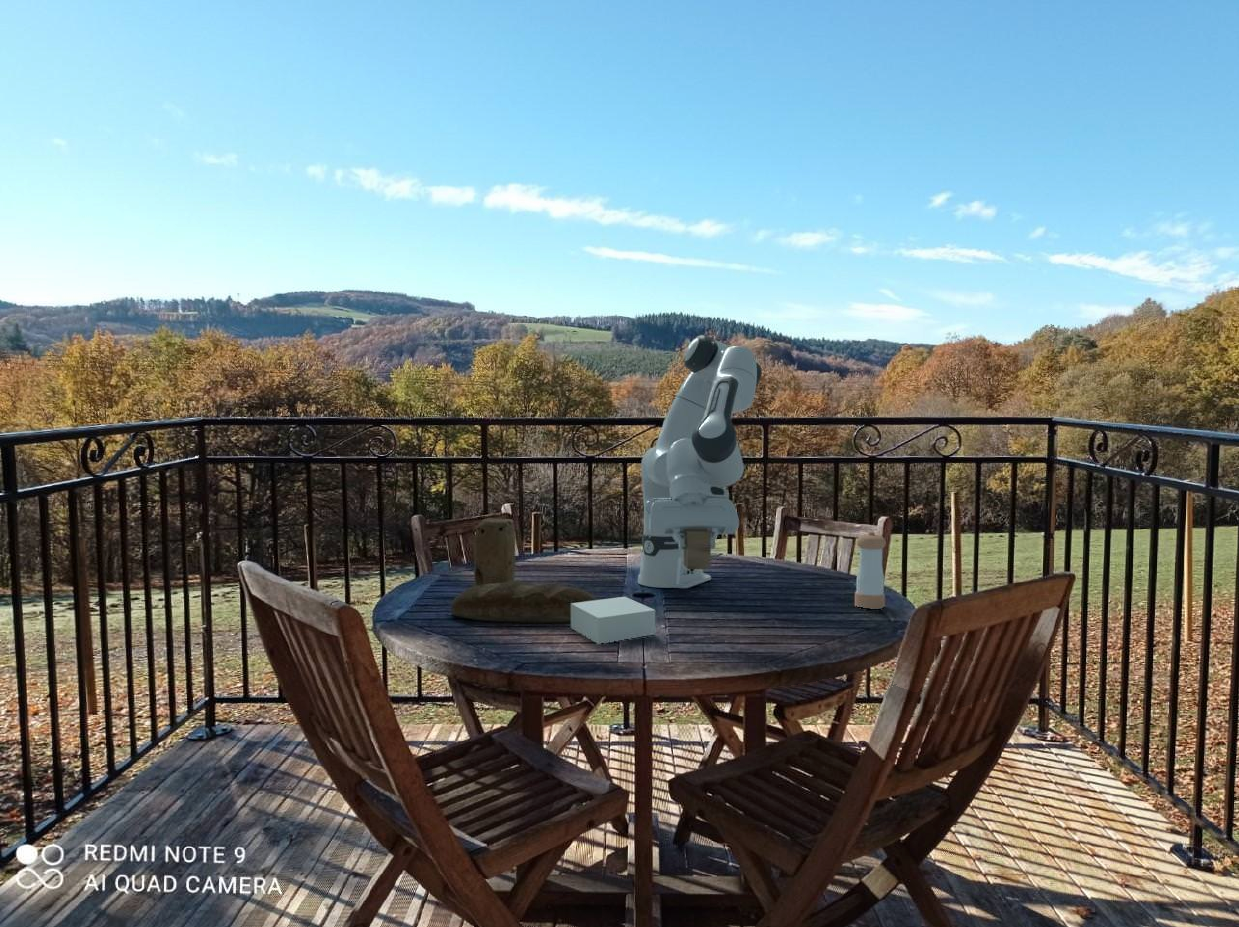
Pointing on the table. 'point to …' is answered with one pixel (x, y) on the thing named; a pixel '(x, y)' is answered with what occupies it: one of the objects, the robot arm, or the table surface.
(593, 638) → the painted base block
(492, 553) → the block
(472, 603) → the bread
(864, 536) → the pepper shaker
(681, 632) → the table surface
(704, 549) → the walnut block
